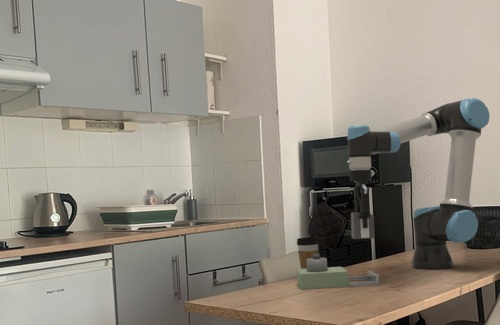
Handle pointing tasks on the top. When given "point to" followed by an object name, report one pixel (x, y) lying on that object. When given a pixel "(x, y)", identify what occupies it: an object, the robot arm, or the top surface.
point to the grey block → (357, 229)
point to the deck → (321, 275)
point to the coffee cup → (307, 249)
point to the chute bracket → (371, 276)
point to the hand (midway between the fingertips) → (363, 237)
